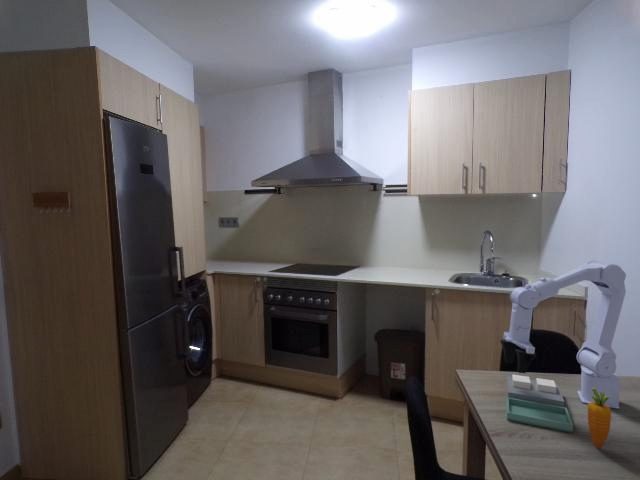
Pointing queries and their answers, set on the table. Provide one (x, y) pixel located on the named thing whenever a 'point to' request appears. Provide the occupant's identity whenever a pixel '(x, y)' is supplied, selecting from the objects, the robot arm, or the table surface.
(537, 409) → the box
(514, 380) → the tile
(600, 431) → the carrot
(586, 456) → the table surface
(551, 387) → the tile
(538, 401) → the board
